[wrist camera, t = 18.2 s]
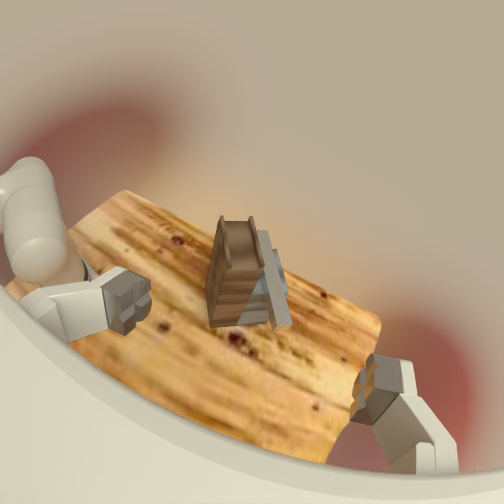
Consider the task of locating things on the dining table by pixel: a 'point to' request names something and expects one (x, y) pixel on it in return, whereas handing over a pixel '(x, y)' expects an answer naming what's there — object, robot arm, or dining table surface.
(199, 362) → the dining table surface
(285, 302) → the steel bar
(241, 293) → the stand
